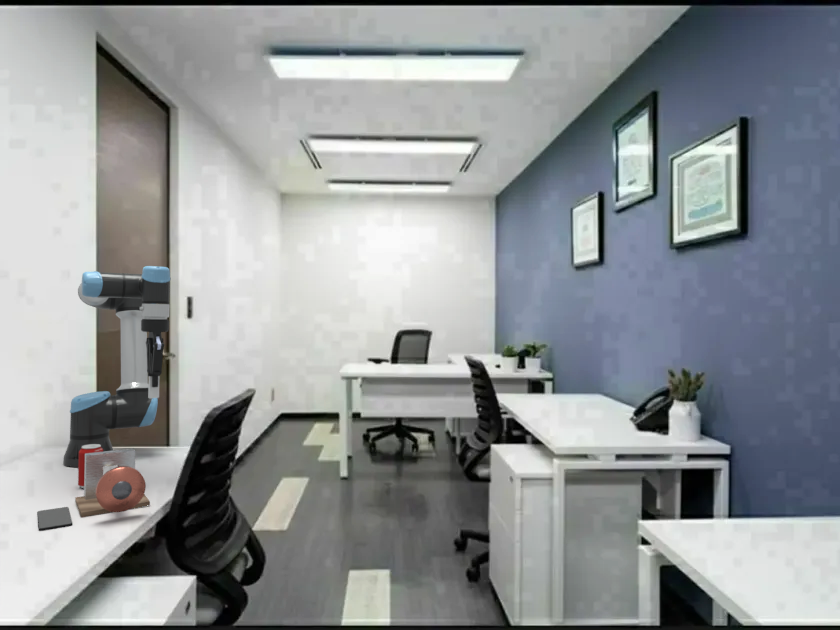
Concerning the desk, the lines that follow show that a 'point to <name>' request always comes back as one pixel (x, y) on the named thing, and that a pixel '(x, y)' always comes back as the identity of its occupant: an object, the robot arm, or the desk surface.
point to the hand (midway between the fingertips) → (153, 397)
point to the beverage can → (81, 466)
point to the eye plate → (100, 460)
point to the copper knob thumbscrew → (120, 489)
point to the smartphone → (54, 518)
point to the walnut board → (99, 506)
